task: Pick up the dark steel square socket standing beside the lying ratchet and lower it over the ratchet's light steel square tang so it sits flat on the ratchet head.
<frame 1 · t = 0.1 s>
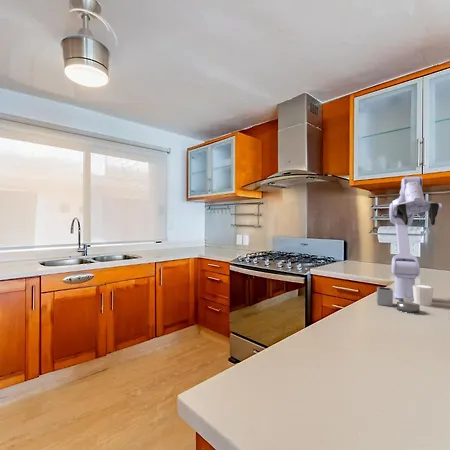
hand: (419, 222, 99), 32 cm above the countertop, tool tilted 50°, fingers open, 7 cm apart
socket: (384, 304, 115), on the countertop
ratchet: (407, 310, 107), on the countertop
shot glass: (422, 304, 116), on the countertop
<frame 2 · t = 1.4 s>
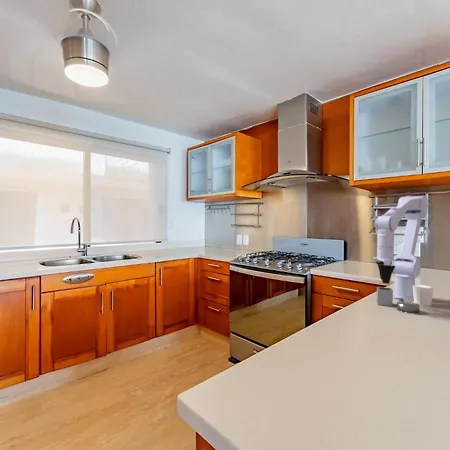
hand: (384, 281, 115), 9 cm above the countertop, tool pointing down, fingers open, 7 cm apart
nothing on the countertop moved.
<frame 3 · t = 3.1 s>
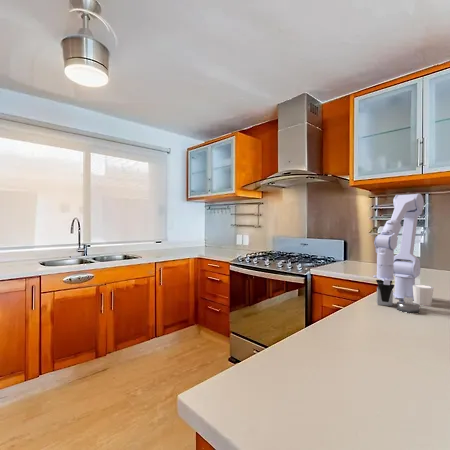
hand: (384, 299, 115), 2 cm above the countertop, tool pointing down, fingers closed on socket, 5 cm apart
socket: (384, 304, 115), on the countertop, touching gripper
everything else where it was.
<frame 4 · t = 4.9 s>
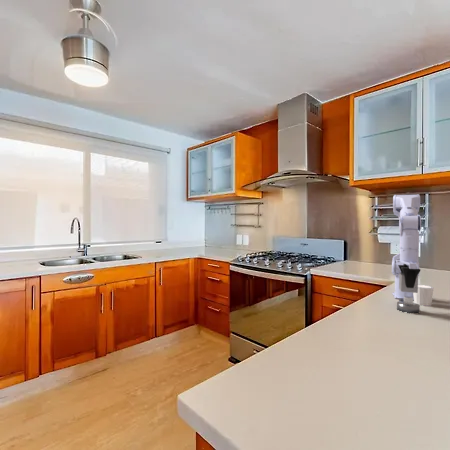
hand: (408, 286, 107), 9 cm above the countertop, tool pointing down, fingers closed on socket, 5 cm apart
socket: (408, 290, 107), point 7 cm above the countertop, touching gripper
everything else where it was.
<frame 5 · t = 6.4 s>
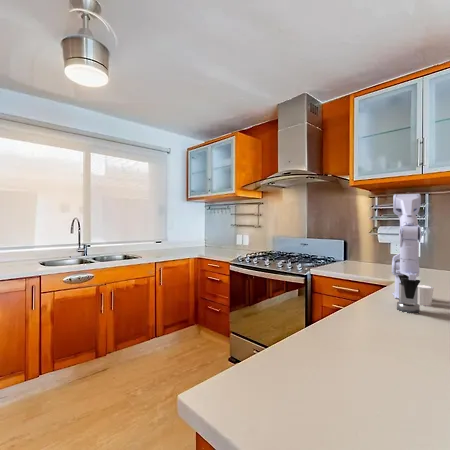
hand: (408, 296, 107), 5 cm above the countertop, tool pointing down, fingers closed on socket, 5 cm apart
socket: (407, 301, 107), point 3 cm above the countertop, touching gripper
everything else where it was.
when the fingers open (5 cm above the countertop, at t = 7.2 s): socket stays where it is, resting on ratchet.
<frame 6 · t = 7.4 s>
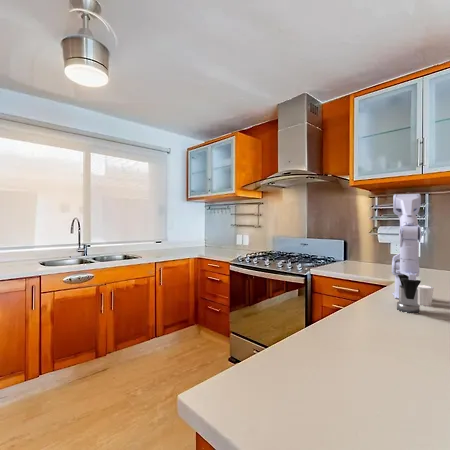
hand: (408, 296, 107), 5 cm above the countertop, tool pointing down, fingers open, 6 cm apart
socket: (407, 303, 107), point 2 cm above the countertop, touching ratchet
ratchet: (408, 310, 107), on the countertop, touching socket
everything else where it was.
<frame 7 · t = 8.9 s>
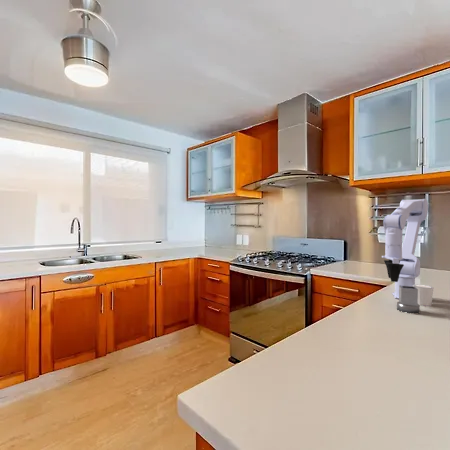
hand: (392, 279, 115), 9 cm above the countertop, tool pointing down, fingers open, 7 cm apart
nothing on the countertop moved.
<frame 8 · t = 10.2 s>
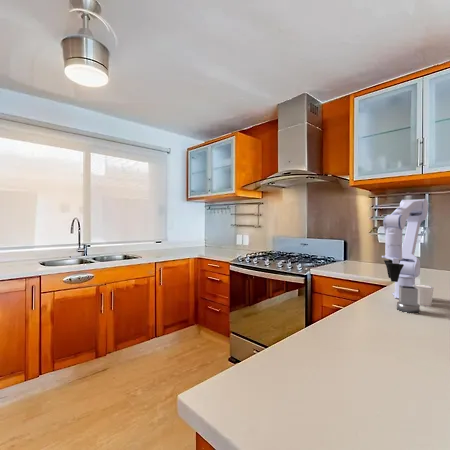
hand: (392, 279, 115), 9 cm above the countertop, tool pointing down, fingers open, 7 cm apart
nothing on the countertop moved.
at the end: socket 0.1 cm off-centre on the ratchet, point 2.5 cm above the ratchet's base; socket tilted 0°; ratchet moved 0.0 cm from its start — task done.
